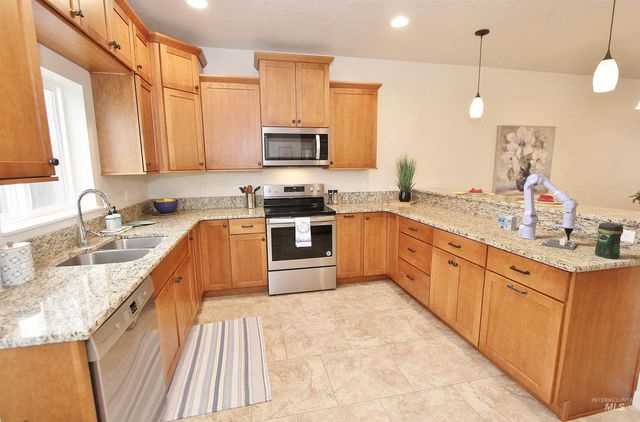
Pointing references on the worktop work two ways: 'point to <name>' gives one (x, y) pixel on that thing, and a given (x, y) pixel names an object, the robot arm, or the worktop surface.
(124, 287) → the worktop surface
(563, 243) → the fader cap cream
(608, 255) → the coffee jar
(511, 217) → the light bulb box
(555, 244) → the fader console
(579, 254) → the worktop surface
